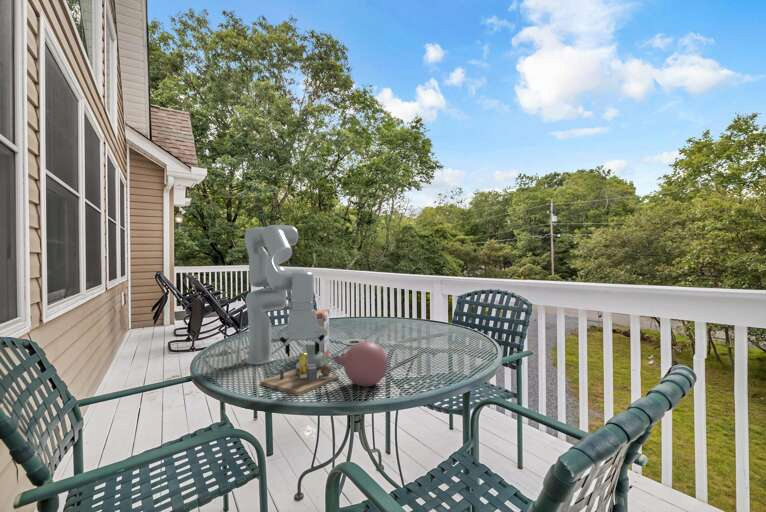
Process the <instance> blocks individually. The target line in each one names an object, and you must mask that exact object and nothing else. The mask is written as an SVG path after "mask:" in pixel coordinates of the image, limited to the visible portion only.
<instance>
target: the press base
mask: <svg viewBox="0 0 766 512" xmlns="http://www.w3.org/2000/svg"><path fill="white" fill-rule="evenodd" d="M307 367H308V373H307V378H300V374H299V370H296V368H295V369H292V370H289V371H285V372H284V368H280V369H279V374H277V375H275V376H272V377H269V378H266V379H263V380H262V379H261V380H260V381H259V385H261V386H264V387H267V388H271V389H275V390H278V391H280V392H281V391H282V392H284V393H285V392H286V393H289V394H292V395H296V396H299V397H300V396H302V395H304V394H307V393H309V392H311V391H314V390H316V389H318V388H321V387H323V386H325V385H327V384H330V383H332V382H335V381H336V379H337V380H339V375H337V374H333V372H331V373H330V374H329V375H323V374H322V373H321V371H318V368H316V365H315V364H307ZM334 380H335V381H334Z"/></svg>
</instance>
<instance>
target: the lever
mask: <svg viewBox="0 0 766 512" xmlns="http://www.w3.org/2000/svg"><path fill="white" fill-rule="evenodd" d="M298 359H299V360H298V362H297V363H296V365H295V367H296V368H295V369H296V370H299V374H300V378H307V373H308V367H307V364H308V362H307V353H306V351H305V352H299V353H298Z"/></svg>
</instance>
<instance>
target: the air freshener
mask: <svg viewBox="0 0 766 512" xmlns="http://www.w3.org/2000/svg"><path fill="white" fill-rule="evenodd" d="M305 353H307V362H308V364H315V365H316V368H317V369H321V367H322V366H323V365H324V364H326V359H327V356H325V354H323V353H321V352H320V343H319V352H318V355H316V354H315V342H312V341H309V342H306V344H305Z"/></svg>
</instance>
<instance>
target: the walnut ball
mask: <svg viewBox="0 0 766 512" xmlns="http://www.w3.org/2000/svg"><path fill="white" fill-rule="evenodd" d="M319 369H320V371H319V372H321V373H322V374H323V375H329V374H330V373H332V367H331V366H330V364H327V363H324V365H323V366H321V367H320V368H319Z"/></svg>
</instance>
